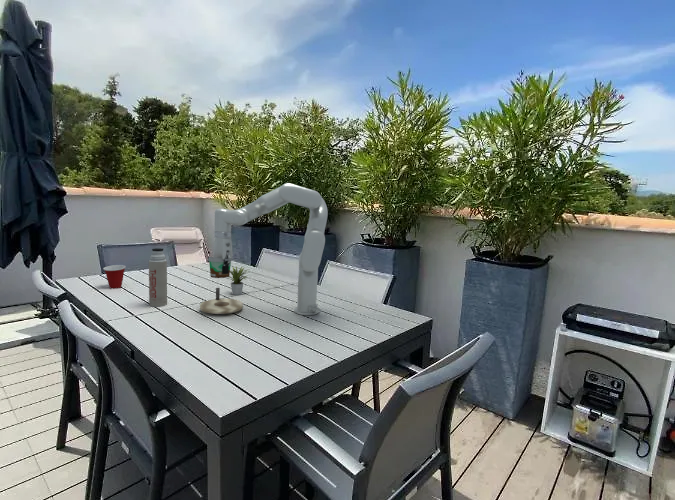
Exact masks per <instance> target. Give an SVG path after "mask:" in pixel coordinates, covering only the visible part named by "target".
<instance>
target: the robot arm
mask: <svg viewBox="0 0 675 500" xmlns="http://www.w3.org/2000/svg"><path fill="white" fill-rule="evenodd" d="M289 203H290V204H293V205H296V206H300V207H304V208H305V209H306V208H307V209H309V219H308V224H307V228H306V231H305V234H304V241H303V247H302V249H301V252H300V254H299V256H298V257H299V258H298V280H297V281H298V282H297V303H296V304H297V305H296V307H294V308H293V312H294V313H295V314H297V315H301V316H313V315H317V314H318V313H320V311H321V310H322V309H321V308H320V307H318V306H319V305H318V303H317V295H318V281H319V280H318V279H319V267H320V264H321V261H322V256H323V252H324V248H325V244H326V236H325V232H326V231H325V230H326V226H327V221H328V214H329V213H328V210H329V209H328V207H327V204H326V201H325V199H324V198H323V197H322V196H321V194H320V193H319V192H318V191H317V190H314V189H310V188H307V187H304V186H300V185H297V184H294V183H290V182H287V183H284V184H282V185H281V186H279V187H277V188H275V189H273V190H271V191H269V192H267V193H265V194H262V195H261V196H260V197H258V198H257V199H256V200H254V201H252V202H251V203H248V204H247V205H245V206H243V207H241V208H238V209H232V210H231V209H228V208H217V209H215V210H214V221H213V222H214V226H213V227H214V230H213V232H214V233H213V234H214V237H213V238H214V242H213V257H221V259H223V261H224V262H223V266H222V274H228V273H229V263H230V262H231V263H232V261H233V260H232V259H233V243H232V241H233V240H232V226H239V227H240V226H243V225H245V224H247V223H248V222H251V221H253V220H254V219H256V218H258V217H260V216H263V215H266V214H269V213H271V212H273V211H275V210H277V209H279V208H281V207H284V206H285V205H287V204H289ZM225 257H227V259H225ZM225 260H227V261H226V262H225ZM231 260H232V261H231Z"/></svg>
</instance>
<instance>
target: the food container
mask: <svg viewBox="0 0 675 500" xmlns="http://www.w3.org/2000/svg"><path fill="white" fill-rule="evenodd" d="M225 259H227V257H225ZM207 261H208V263H209V273H210V275H209V276H210V278H213V279H224V278H230V277H229V276H230V274H231V273H230V271H231V264H232V261H233V258H232V260H231V262H230V263H229V273H228V274H222V266H223V262H224V261H223V259H221V257H214V256H208V258H207ZM226 261H227V260H225V262H226Z"/></svg>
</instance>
